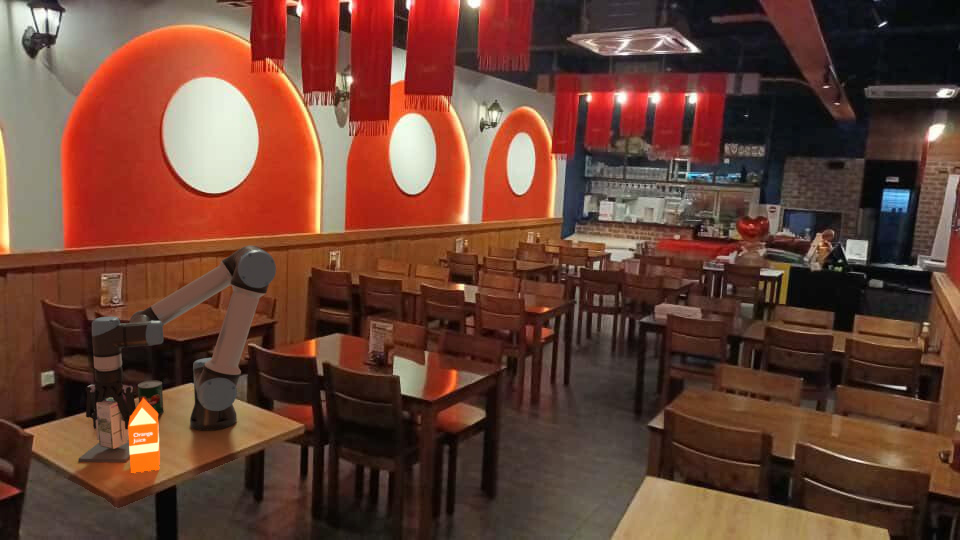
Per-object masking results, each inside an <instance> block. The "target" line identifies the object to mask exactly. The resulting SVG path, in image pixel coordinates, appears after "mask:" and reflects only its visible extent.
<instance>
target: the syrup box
mask: <svg viewBox="0 0 960 540" xmlns="http://www.w3.org/2000/svg"><path fill="white" fill-rule="evenodd" d="M96 406H97V418H98V431H99V440H98V443H99V444H100V446H101V447H106V448H110V449H115V448H117V447H119V446H122V445H124V444H126V443H127V440H128V438H127V439H126V440H122V428H121V420H122V419H123V416H122V414H121V412H120V410H119V408H118V406H117V402H116V401H114V399H113V398H111V397H109V398H106V399H105V400H103V401H102V402H97V401H96V403H95V407H96Z"/></svg>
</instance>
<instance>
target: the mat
mask: <svg viewBox="0 0 960 540" xmlns="http://www.w3.org/2000/svg"><path fill="white" fill-rule="evenodd" d="M128 461H130V451H129V439H127V443H126V444H124V445H122V446H119V447H117V448H115V449H110V448H106V447H101V446H100V444H99V442H97V443H96V445H94V446H93V447H91V448H90V449H89V450H87V451H86V452H85V453H84V454H82V455H81V456H80V457H79V458H78V462H79V463H82V462H83V463H94V462H95V463H127V462H128Z"/></svg>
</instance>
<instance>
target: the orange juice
mask: <svg viewBox="0 0 960 540" xmlns="http://www.w3.org/2000/svg"><path fill="white" fill-rule="evenodd" d="M159 427H160V426H159V415H158V413H157V412H156V411H155V410H154V409H153V407H152V406H151V405H150V404H149V403H148V402H147V401H146V400H145V399H144V398H143V399H142V400H141V402H140V403H139V402H138V404H137V406H136V409H135V411H134V412H133V413H132V415H131V416H130V419H129V425H128V432H129V433H128V434H129V437H128V440H129V451H130V459H129V461H130V462H129V465H130V474H131V473H134V474H137V473H136V472H141V473H145V472H144V471H148V472H152V471H151V470H155V471H159V470H160V466H161V465H160V464H161V463H160V462H161V451H160V450H161V449H160V431H159V430H160V429H159ZM159 465H160V466H159Z"/></svg>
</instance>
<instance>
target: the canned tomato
mask: <svg viewBox="0 0 960 540" xmlns="http://www.w3.org/2000/svg"><path fill="white" fill-rule="evenodd" d="M137 393H138V394H137V395H138V404H139V403H140V402H141V400H142V399H143V398H144V399H145V400H146V401H147V402H148V403H149V404H150V405H151V406H152V407H153V409H154V410H155V411H156V412H157V413H158V416H160V414H161V415H162V414H164V413H165V412H164V410H165V409H164V397H163V395H164V394H163V382H162V381H160V380H146V381H143V382H140V383H138V384H137Z"/></svg>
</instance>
